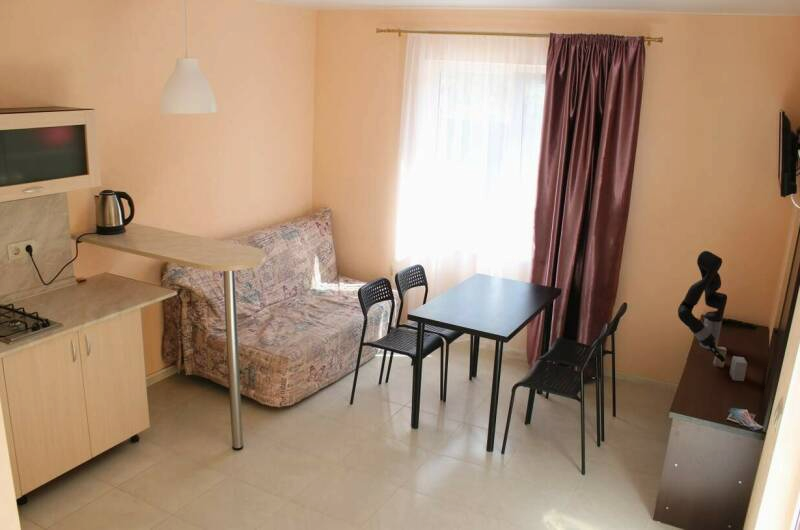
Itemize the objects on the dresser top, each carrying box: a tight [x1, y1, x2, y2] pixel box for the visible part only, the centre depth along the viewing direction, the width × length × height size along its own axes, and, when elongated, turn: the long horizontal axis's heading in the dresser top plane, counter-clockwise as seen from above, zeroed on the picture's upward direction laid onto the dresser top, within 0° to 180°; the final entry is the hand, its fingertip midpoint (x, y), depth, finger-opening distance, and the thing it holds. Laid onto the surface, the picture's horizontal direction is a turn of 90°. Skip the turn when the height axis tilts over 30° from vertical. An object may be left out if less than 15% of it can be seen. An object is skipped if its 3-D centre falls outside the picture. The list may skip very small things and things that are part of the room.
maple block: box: [712, 346, 728, 368], centre depth 390 cm, size 4×4×10 cm
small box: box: [729, 355, 748, 382], centre depth 376 cm, size 8×6×10 cm
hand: (722, 357), depth 389 cm, fingers open, 8 cm apart
